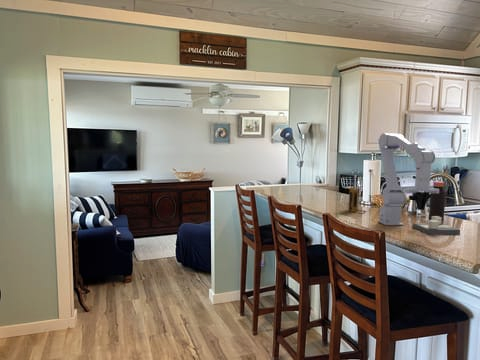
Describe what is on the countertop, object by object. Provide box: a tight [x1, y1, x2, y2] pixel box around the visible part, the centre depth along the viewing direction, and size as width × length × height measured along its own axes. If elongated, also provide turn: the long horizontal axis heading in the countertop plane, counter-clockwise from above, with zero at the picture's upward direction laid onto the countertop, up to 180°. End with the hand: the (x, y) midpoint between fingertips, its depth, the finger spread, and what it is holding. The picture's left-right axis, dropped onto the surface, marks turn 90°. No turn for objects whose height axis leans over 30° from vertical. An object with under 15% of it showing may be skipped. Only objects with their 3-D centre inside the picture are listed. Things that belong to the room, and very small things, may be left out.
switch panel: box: [412, 222, 461, 235], centre depth 166 cm, size 14×13×2 cm
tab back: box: [431, 216, 442, 224], centre depth 170 cm, size 3×3×3 cm
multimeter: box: [347, 176, 369, 215], centre depth 208 cm, size 15×10×20 cm
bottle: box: [428, 181, 447, 223], centre depth 186 cm, size 7×7×20 cm
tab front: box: [427, 219, 439, 229], centre depth 161 cm, size 3×3×3 cm
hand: (420, 209), depth 159 cm, fingers closed
